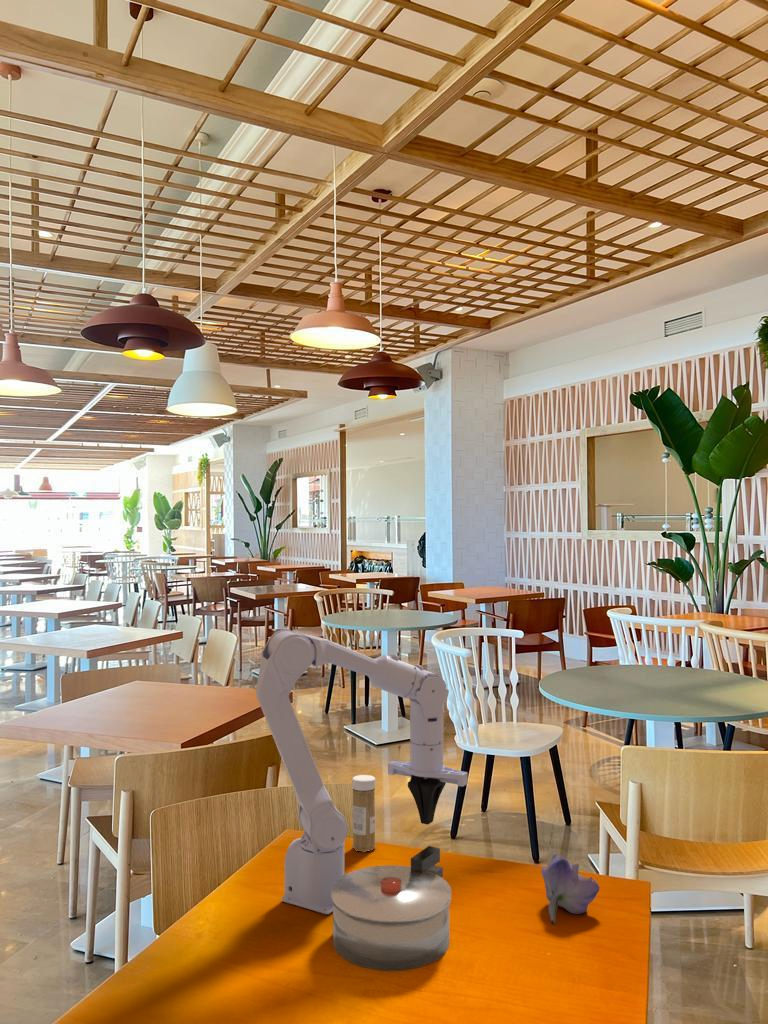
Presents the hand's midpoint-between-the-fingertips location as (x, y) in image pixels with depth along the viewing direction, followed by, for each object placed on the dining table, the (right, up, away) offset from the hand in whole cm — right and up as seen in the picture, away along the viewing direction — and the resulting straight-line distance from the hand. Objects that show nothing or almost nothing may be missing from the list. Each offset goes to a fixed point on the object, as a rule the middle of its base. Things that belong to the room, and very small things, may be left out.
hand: (427, 822), depth 128 cm
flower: (+21, -10, -11) cm, 26 cm away
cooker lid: (-5, -3, -17) cm, 18 cm away
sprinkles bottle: (-11, -12, +15) cm, 22 cm away
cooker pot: (-5, -9, -16) cm, 20 cm away
